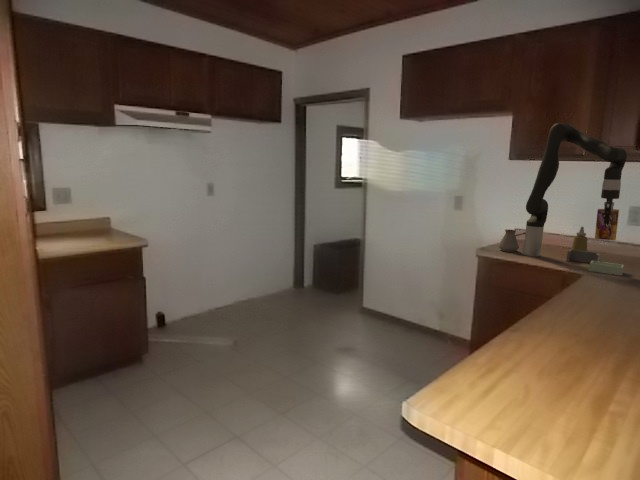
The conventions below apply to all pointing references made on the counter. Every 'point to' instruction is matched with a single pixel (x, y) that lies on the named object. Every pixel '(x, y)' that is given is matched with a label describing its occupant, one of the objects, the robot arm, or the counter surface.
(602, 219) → the candy box
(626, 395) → the counter surface
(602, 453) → the counter surface
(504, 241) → the coffee pot
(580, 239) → the squeeze bottle
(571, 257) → the bay
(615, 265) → the tray
